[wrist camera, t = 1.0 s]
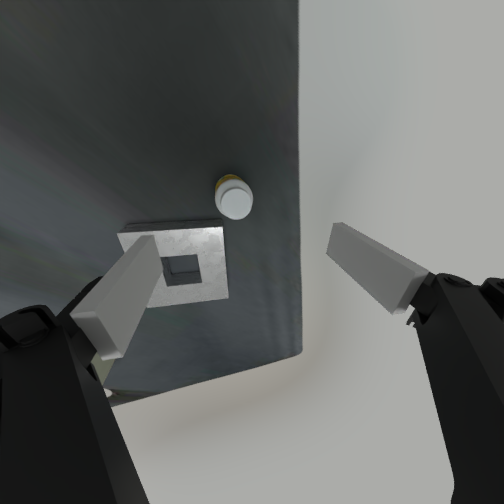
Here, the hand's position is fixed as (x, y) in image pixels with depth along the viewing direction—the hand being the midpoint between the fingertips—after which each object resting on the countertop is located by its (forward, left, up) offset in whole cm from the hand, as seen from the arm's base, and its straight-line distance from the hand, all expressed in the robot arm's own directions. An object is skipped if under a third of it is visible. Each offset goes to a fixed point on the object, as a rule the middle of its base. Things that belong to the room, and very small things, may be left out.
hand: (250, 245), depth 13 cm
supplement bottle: (0, 0, -21) cm, 21 cm away
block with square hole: (+13, -10, -21) cm, 26 cm away
